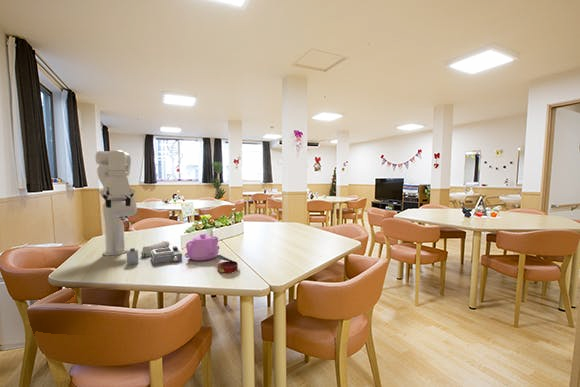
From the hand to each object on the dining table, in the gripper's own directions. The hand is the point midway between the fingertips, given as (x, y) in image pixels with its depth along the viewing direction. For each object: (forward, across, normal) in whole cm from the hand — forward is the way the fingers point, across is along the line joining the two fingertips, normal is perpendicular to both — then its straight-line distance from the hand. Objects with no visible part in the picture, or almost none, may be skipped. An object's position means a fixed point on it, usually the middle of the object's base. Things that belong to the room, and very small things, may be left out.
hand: (118, 206), depth 135 cm
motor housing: (+31, -16, +15) cm, 38 cm away
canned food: (+32, -19, +56) cm, 68 cm away
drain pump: (+31, -4, +5) cm, 31 cm away
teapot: (+32, -28, +32) cm, 53 cm away
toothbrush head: (+31, -24, -5) cm, 39 cm away
